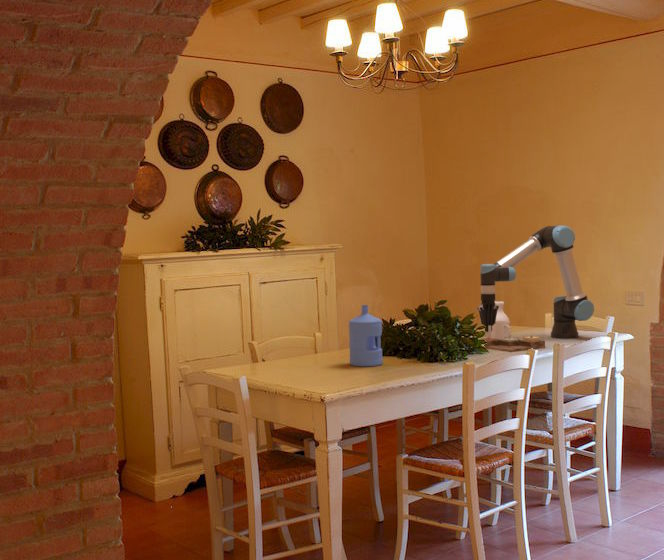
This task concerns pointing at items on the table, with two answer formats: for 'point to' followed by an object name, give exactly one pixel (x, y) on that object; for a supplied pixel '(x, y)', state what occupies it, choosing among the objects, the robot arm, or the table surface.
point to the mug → (500, 330)
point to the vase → (502, 314)
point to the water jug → (365, 340)
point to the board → (514, 345)
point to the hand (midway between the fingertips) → (488, 337)
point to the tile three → (531, 339)
